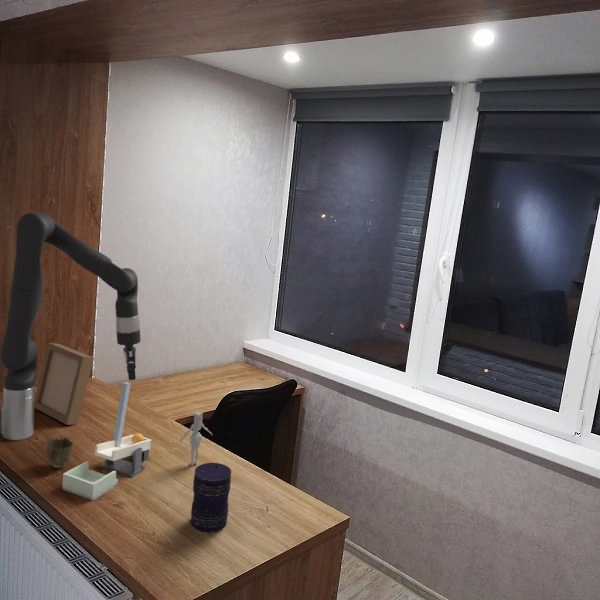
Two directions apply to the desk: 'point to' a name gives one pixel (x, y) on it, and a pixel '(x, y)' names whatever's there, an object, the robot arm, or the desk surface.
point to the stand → (128, 463)
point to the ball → (137, 438)
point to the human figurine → (195, 436)
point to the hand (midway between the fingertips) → (131, 375)
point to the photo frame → (63, 383)
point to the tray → (88, 481)
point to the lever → (121, 445)
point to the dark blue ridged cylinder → (210, 497)
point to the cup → (59, 452)
